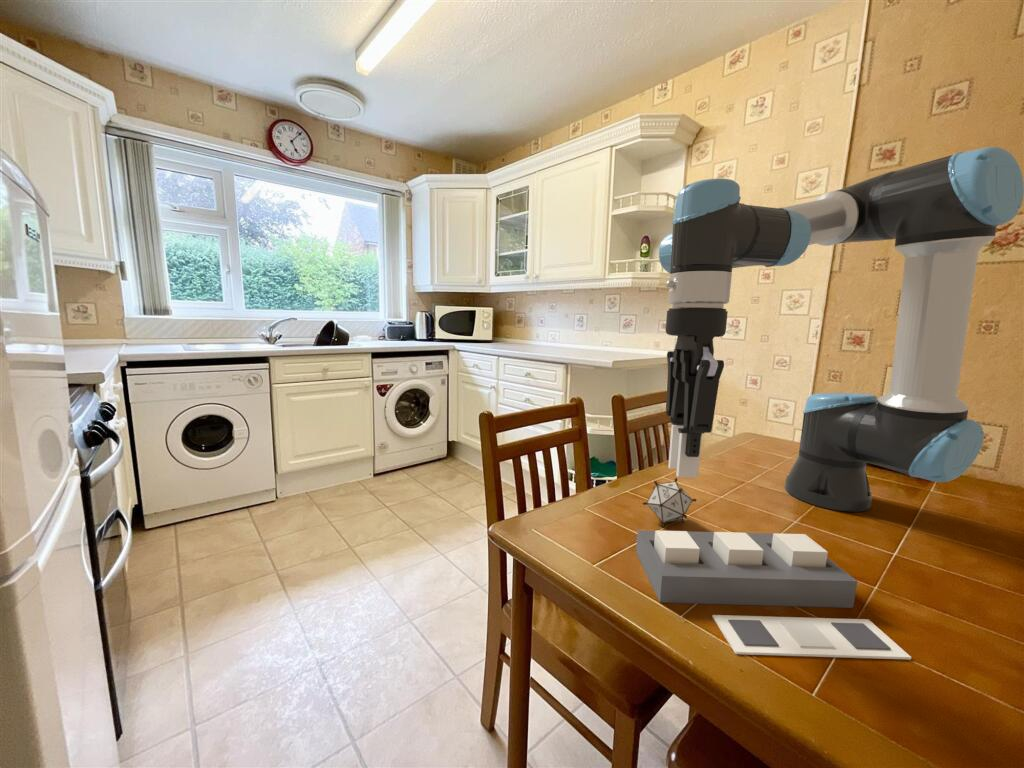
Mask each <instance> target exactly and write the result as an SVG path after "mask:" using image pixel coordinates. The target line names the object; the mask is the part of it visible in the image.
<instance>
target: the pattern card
mask: <svg viewBox="0 0 1024 768" xmlns="http://www.w3.org/2000/svg"><path fill="white" fill-rule="evenodd" d="M711 617H712V619H713V621H714V622H715V624H716V625H717V627H718V628H719V629H720V632H721V633H722V635H723V637H724V638H725V640H726V641H727V643H728V644H729V646H730V647H731V650H733V653H734V654H735V655H752V656H754V655H755V656H784V657H785V656H786V657H819V658H845V659H846V658H852V659H879V660H880V659H883V660H890V659H891V660H912V656H911V655H909V653H907V652H906V651H905V650H904V649H903V648H902V647H900V646H899V645H898V644H897V643H896V642H895V641H894V640H893V639H891V638H890V637H889V636H888V635H887V634H886V633H884V631H882V630H881V629H880V628H879V627H878V626H876V625H875V623H873V621H871V620H870V619H866V618H860V619H859V618H836V617H835V618H832V617H829V618H828V617H827V618H826V617H800V616H799V617H796V616H794V617H793V616H767V615H765V616H764V615H730V614H728V615H727V614H726V615H725V614H723V615H722V614H712V616H711Z"/></svg>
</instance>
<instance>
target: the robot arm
mask: <svg viewBox="0 0 1024 768" xmlns="http://www.w3.org/2000/svg"><path fill="white" fill-rule="evenodd" d="M740 188H741V187H740V185H739V184H738V183H737V182H736V181H735V180H734V179H730V178H708V179H701V180H698V181H694V182H692V183H689V184H687V185H685V186H683V187H682V188H681V189H679V192H678V193H677V195H676V199H675V200H676V201H675V205H674V206H675V207H674V213H673V219H672V223H671V224H672V232H670V233H668V234H667V235H665V236H664V238H663V239H662V240H661V242H660V244H659V246H658V258H659V259H658V260H659V263H660V265H661V267H662V269H663V270H664V271H665V272H667V273H669V280H667V281H666V282H665V288H667V289H668V298H667V302H668V303H669V304H670V305H672V308H668V310H667V311H666V320H665V334H667V336H673V337H674V336H675V337H677V338H676V342H675V347H674V349H673V350H672V351H671V350H669V351H667V353H666V359H667V381H666V382H667V387H666V407H665V409H666V412H665V413H666V416H667V417H669V420H670V423H671V430H670V442H669V452H668V466H667V467H668V468H669V469H670V470H676V478H681V479H682V478H686V479H688V478H689V479H691V478H693V479H698V477H699V469H700V460H701V459H700V456H701V447H702V436H703V435H704V434H707V433H708V434H710V433H711V432H712V431H713V425H714V424H713V423H714V417H715V410H716V404H717V399H718V390H719V386H720V385H719V383H720V379H721V376H722V374H723V370H724V367H725V361H724V360H722V359H715V356H714V353H715V347H714V338H720V337H723V336H724V335H726V333H727V332H726V330H727V321H728V314H729V313H728V310H727V308H724V305H728V304H729V303H730V297H731V295H730V294H731V288H732V287H731V286H732V285H731V284H732V276H733V273H732V272H733V269H738V268H744V267H745V268H746V267H755V266H757V267H759V266H761V267H762V266H764V267H766V268H771V267H783V266H787V265H790V264H792V263H794V262H796V261H797V260H799V258H800V257H801V256H803V254H804V253H805V252H806V250H807V249H808V247H809V246H810V245H811V246H812V245H816V244H817V245H819V246H824V247H825V246H827V247H828V246H834V245H838V244H846V243H859V242H860V243H861V242H877V241H880V242H881V241H887V240H895V242H894V250H896V251H897V252H898V253H899V254H901V255H902V256H903V257H904V264H903V273H902V281H901V290H900V299H899V307H898V308H899V309H898V315H897V316H898V317H897V325H896V334H895V342H894V351H893V360H892V368H891V377H890V383H889V384H890V386H889V390H888V391H887V392H886V393H885V394H883V395H882V396H880V397H878V396H877V395H875V394H871V393H859V392H858V393H857V392H819V393H817V392H816V393H813V394H811V395H809V396H808V397H807V398H806V402H805V405H804V411H803V412H802V413H803V416H802V427H801V434H800V442H799V450H798V454H797V455H798V456H797V458H796V460H795V462H794V463H793V466H792V467H791V469H790V471H789V473H788V475H787V476H786V478H785V482H784V490H785V491H786V492H787V493H788V494H789V495H790V496H792V497H794V498H796V499H798V500H799V501H802V502H805V503H808V504H811V505H814V506H817V507H820V508H824V509H829V510H834V511H842V512H849V513H850V512H853V513H854V512H857V513H858V512H865V511H868V510H870V509H871V507H872V499H873V496H872V492H871V487H870V483H869V478H868V475H867V470H866V468H867V463H870V464H873V465H877V466H878V467H879V466H880V467H883V468H887V469H889V470H893V471H895V472H899V473H901V474H906V475H908V476H910V477H911V478H920V479H922V480H928V481H931V482H934V483H946V482H951V481H953V480H955V479H957V478H959V477H960V476H962V475H963V474H964V473H965V472H966V471H967V470H968V469H969V468H970V467H971V466H972V465H973V463H974V462H975V460H976V459H977V457H978V455H979V454H980V451H981V449H982V446H983V444H984V443H983V442H984V439H985V433H984V431H983V429H984V428H983V426H982V425H981V423H980V422H977V421H975V420H973V419H969V418H968V415H969V414H968V413H969V405H968V404H967V403H965V402H964V401H963V400H962V399H960V398H959V396H958V393H959V386H960V379H961V374H962V373H961V372H962V364H963V358H964V354H965V353H964V351H965V345H966V338H967V332H968V325H969V318H970V312H971V307H972V306H971V304H972V298H973V290H974V284H975V278H976V272H977V271H976V270H977V265H978V264H977V263H978V258H979V252H980V250H981V249H982V248H983V247H985V246H986V245H988V244H989V243H991V242H993V240H995V238H996V234H997V233H996V232H997V227H998V226H1003V225H1005V224H1007V223H1009V222H1011V221H1013V219H1014V218H1016V217H1017V215H1018V213H1019V209H1020V208H1021V207H1022V204H1023V200H1024V177H1023V172H1022V170H1021V167H1020V165H1019V163H1018V161H1017V159H1016V158H1015V157H1014V155H1013V154H1012V153H1011V152H1010V151H1008V150H1006V149H1005V148H1002V147H998V146H988V147H987V146H986V147H982V148H977V149H972V150H968V151H962V152H956V153H954V154H952V155H947V156H943V157H941V158H936V159H932V160H930V161H926V162H923V163H918V164H916V165H912V166H908V167H905V168H901V169H898V170H895V171H889V172H884V173H882V174H879V175H876V176H873V177H871V178H868V179H865V180H862V181H860V182H857V183H855V184H852V185H848V186H847V187H844V188H841V189H837V190H834V191H828V192H826V193H823V194H822V195H821V194H820V195H819V196H818V197H816V199H814V201H813V200H812V201H808V202H803V203H798V204H793V205H788V206H784V207H778V208H777V207H769V206H760V205H752V204H751V205H750V204H745V203H742V202H740V201H741V199H742V198H741V193H740V192H741V190H740Z"/></svg>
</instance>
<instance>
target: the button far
mask: <svg viewBox="0 0 1024 768" xmlns="http://www.w3.org/2000/svg"><path fill="white" fill-rule="evenodd" d="M654 531H655V540H654V549H655V551H656V553H657V555H658V557H659V558H660V560H661V562H662V563H682V564H698V562H699V552H700V548H699V547H698V546H697V544H696V543H695V542H694V540H693V539H692V538H691V536H690V535H689V534H688V532H687V530H654Z"/></svg>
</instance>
